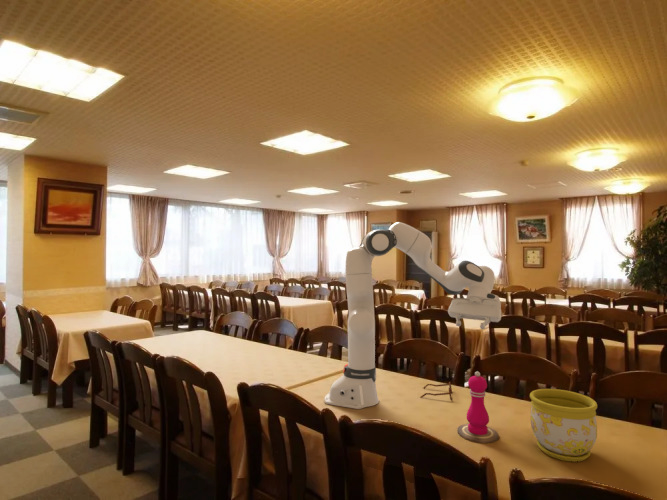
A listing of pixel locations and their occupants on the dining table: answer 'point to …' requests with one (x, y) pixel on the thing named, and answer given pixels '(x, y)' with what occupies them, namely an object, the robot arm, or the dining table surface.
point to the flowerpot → (563, 423)
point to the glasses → (439, 393)
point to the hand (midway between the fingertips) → (469, 326)
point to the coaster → (486, 438)
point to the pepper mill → (477, 406)
